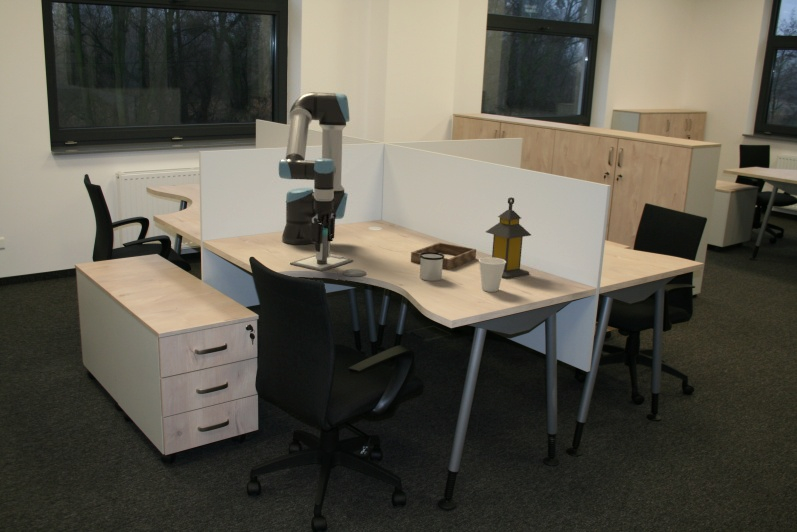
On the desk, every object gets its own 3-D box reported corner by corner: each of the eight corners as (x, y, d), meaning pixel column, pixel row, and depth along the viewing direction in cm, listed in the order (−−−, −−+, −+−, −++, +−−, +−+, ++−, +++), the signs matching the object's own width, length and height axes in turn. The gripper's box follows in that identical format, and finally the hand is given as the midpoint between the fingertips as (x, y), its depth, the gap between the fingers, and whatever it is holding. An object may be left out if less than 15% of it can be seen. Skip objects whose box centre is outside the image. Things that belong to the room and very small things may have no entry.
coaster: (352, 269, 291) (352, 267, 291) (370, 273, 286) (371, 271, 286) (338, 273, 283) (338, 272, 283) (357, 278, 279) (357, 276, 279)
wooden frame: (438, 251, 324) (439, 242, 323) (475, 258, 315) (476, 249, 314) (410, 261, 305) (411, 252, 304) (449, 269, 296) (449, 259, 295)
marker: (320, 261, 297) (321, 226, 293) (329, 263, 295) (329, 228, 291) (314, 263, 293) (315, 228, 290) (322, 265, 291) (323, 230, 288)
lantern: (480, 270, 297) (485, 196, 289) (505, 266, 305) (511, 193, 297) (505, 279, 286) (511, 202, 278) (530, 274, 294) (537, 199, 287)
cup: (474, 285, 276) (476, 256, 273) (500, 286, 277) (502, 257, 274) (479, 293, 266) (481, 263, 263) (506, 294, 267) (509, 264, 264)
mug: (435, 283, 277) (436, 259, 274) (413, 278, 282) (414, 255, 279) (450, 276, 287) (452, 253, 284) (429, 272, 291) (430, 249, 289)
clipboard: (321, 254, 310) (321, 251, 310) (352, 261, 302) (352, 258, 302) (290, 264, 294) (290, 261, 293) (322, 271, 286) (322, 268, 285)
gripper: (329, 195, 296) (328, 252, 302) (301, 200, 282) (301, 260, 288) (344, 197, 292) (343, 255, 298) (317, 203, 278) (316, 264, 284)
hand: (322, 258), depth 293 cm, fingers closed on marker, 4 cm apart
